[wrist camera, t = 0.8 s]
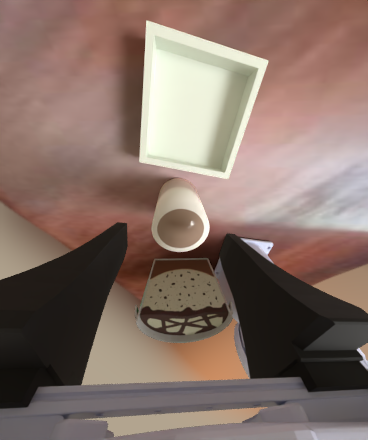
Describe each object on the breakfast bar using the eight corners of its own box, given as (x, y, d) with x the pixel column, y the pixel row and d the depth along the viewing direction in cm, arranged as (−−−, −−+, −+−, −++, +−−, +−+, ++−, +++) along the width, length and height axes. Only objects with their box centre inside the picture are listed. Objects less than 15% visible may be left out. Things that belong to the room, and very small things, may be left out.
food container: (148, 282, 29) (137, 347, 20) (145, 258, 26) (131, 322, 17) (211, 281, 30) (227, 342, 21) (216, 257, 27) (237, 318, 18)
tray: (221, 173, 19) (228, 179, 17) (143, 158, 18) (139, 162, 16) (253, 72, 15) (268, 60, 12) (151, 39, 13) (146, 20, 11)
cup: (192, 216, 22) (201, 254, 15) (157, 211, 21) (149, 248, 14) (201, 182, 20) (216, 208, 13) (161, 174, 19) (154, 198, 12)
